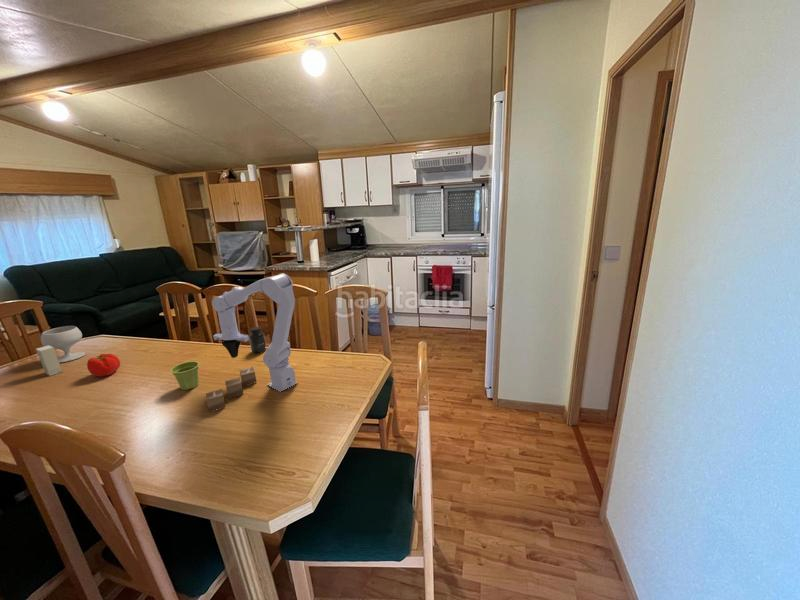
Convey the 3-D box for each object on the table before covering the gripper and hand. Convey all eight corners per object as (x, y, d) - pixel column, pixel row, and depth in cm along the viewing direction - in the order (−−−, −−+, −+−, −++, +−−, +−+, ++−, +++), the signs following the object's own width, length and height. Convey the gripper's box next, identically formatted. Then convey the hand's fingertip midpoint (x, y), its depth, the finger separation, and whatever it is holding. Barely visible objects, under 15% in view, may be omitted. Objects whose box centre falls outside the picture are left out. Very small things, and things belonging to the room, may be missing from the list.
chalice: (61, 354, 163) (51, 327, 159) (94, 350, 167) (85, 323, 163) (41, 366, 150) (29, 337, 146) (77, 361, 154) (67, 332, 150)
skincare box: (63, 371, 144) (54, 347, 141) (49, 376, 141) (39, 351, 137) (58, 369, 147) (49, 344, 144) (44, 373, 144) (35, 348, 140)
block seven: (256, 382, 129) (254, 371, 127) (243, 386, 126) (240, 375, 125) (254, 377, 133) (252, 366, 131) (241, 381, 130) (239, 370, 129)
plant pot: (190, 393, 122) (185, 373, 120) (169, 391, 124) (164, 371, 122) (208, 381, 131) (204, 361, 129) (189, 379, 133) (184, 360, 131)
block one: (225, 407, 113) (222, 394, 111) (209, 412, 110) (206, 399, 109) (224, 400, 117) (221, 388, 115) (208, 405, 114) (205, 393, 113)
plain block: (243, 394, 120) (241, 382, 119) (228, 398, 118) (226, 386, 117) (241, 388, 125) (239, 377, 123) (227, 392, 122) (225, 381, 121)
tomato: (94, 382, 134) (87, 363, 131) (88, 375, 140) (82, 357, 138) (125, 372, 142) (120, 354, 139) (118, 365, 148) (113, 348, 146)
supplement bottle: (263, 354, 155) (259, 330, 152) (249, 354, 155) (245, 331, 152) (268, 348, 161) (265, 325, 158) (255, 348, 162) (251, 326, 158)
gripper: (251, 322, 127) (256, 353, 130) (220, 320, 130) (226, 351, 134) (239, 328, 120) (245, 361, 124) (206, 326, 123) (213, 358, 127)
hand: (234, 356), depth 128 cm, fingers closed
